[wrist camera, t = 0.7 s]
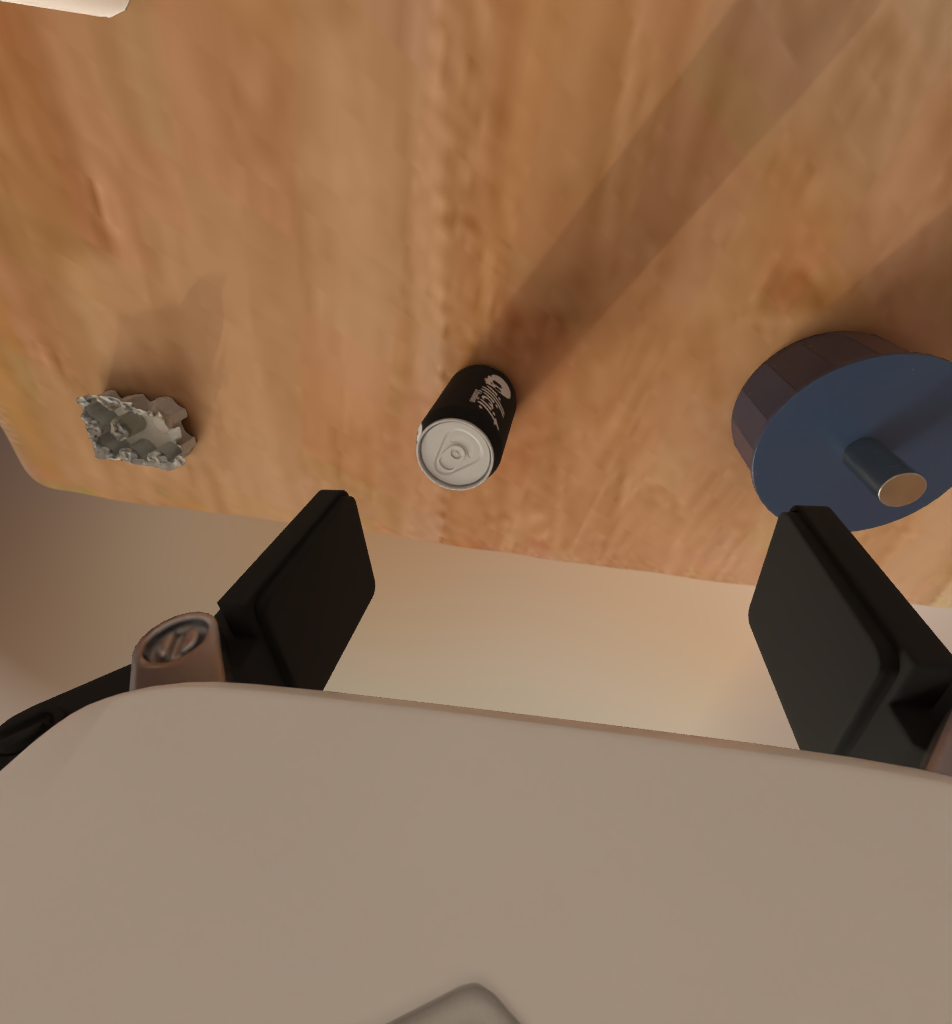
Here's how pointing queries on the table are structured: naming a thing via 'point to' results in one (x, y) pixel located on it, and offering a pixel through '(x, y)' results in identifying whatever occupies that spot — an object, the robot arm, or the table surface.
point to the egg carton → (137, 429)
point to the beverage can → (467, 428)
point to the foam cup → (80, 6)
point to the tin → (795, 378)
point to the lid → (861, 440)
